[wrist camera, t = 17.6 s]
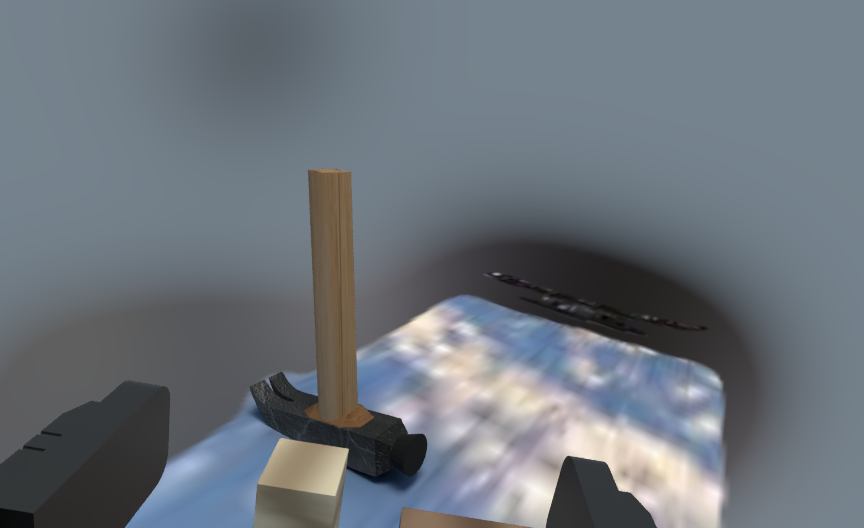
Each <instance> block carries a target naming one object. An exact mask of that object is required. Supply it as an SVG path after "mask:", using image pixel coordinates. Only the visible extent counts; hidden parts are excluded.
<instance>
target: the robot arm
mask: <svg viewBox="0 0 864 528" xmlns="http://www.w3.org/2000/svg"><path fill="white" fill-rule="evenodd" d="M169 410H170V393H169V390H168V388H167V387H164V386H158V385H153V384H146V383H141V382H134V381H125V382H123V383H122V384H121V385H119V386H118V387H117V388H116V389H115V390H114V391H113V392H112V393H110V394H109V395H108V396H107V397H106V398H104V399H103V400H102V401H101V402H94V401H90V402H88V403H86V404H84V405H81V406H79V407H77V408H75V409H72V410H70V411H68V412H66V413H64V414H62V415H61V416H59V417H58V418H57V419H56V420H54V421H53V422H52V423H51V424H50V425H48V426H47V427H46V428H45V429H43V430H42V431H41V434H40V435H36V436H35V437H34V438H32V439H31V440H30V441H29V442H27V443H26V444H25V445H24V447H23V449H22V450H20V449H19V450H18V451H16V452H15V453H14V454H13V455H11V456H10V457H9V458H8V459H6V460H5V461H4V462H3V463H1V464H0V528H125V527H126V525H127V524H128V523H129V521H130V520H131V519H132V517H133V516H134V515H135V513H136V512H137V511H138V509H139V508H140V507H141V506H142V504H143V503H144V502H145V500H146V499H147V498H148V496H149V495H150V494H151V492H152V491H153V490H154V488H155V487H156V486H157V484H158V482H159V481H160V479H161V477H162V474H163V472H164V469H165V466H166V462H167V457H168V441H169V413H170V411H169ZM546 528H657V527H656V525H655V523H654V521H653V518H652V516H651V514H650V513H649V512H648V511H647V510H646V509H645V508H644V507H643V505H642V504H641V503H640V502H639V501H638V500H637V499H636V498H635V497H634V496H633V495H632V494H631V493H628V492H622V491H619V490H618V488H617V486H616V483H615V481H614V479H613V476H612V474H611V471H610V469H609V467H608V465H607V464H606V463H605V462H602V461H596V460H590V459H584V458H578V457H572V456H567V457H566V458H565V460H564V462H563V465H562V468H561V471H560V475H559V479H558V482H557V486H556V489H555V493H554V496H553V500H552V504H551V507H550V511H549V514H548V518H547V523H546Z"/></svg>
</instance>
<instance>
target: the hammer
mask: <svg viewBox="0 0 864 528" xmlns="http://www.w3.org/2000/svg"><path fill="white" fill-rule="evenodd" d="M308 180H309V202H310V225H311V247H312V270H313V292H314V315H315V336H316V359H317V382H318V396H315V395H311V394H307V393H304V392H301V391H299V390H297V389H295V388H294V387H293V386H292V385H291V384H290V383H289V382H288V380H287V379H286V377H285V375H284V374H283V372H280V373H278V374H276V375H274V376H271V377H269V380H270V383H271V386H272V389H273V391H274V392H273V391H272V390H271V388H270V387H269V385H268V384H267V382H266V381H265V380H263V381H261V382H259V383H257V384H254V385H252V386H250V390H251V393H252V396H253V398H254V400H255V402H256V404H257V407H258V409H259V411H260V413H261V414H262V416H263V418H264V419H265V420H266V422H267V423H268V424H269V425H270V426H271V427H272V428H273V429H274V430H276V431H278V432H280V433H281V434H283V435H285V436H287V437H289V438H291V439H293V440H296V441H302V442H308V443H315V444H321V445H328V446H334V447H340V448H347V449H349V452H348V459H347V467H350V468H352V469H355V470H358V471H360V472H363V473H366V474H368V475H371V476H374V477H377V476H378V475H380V474H382V473H385V472H387V471H389V470H391V469H392V468H394V467H396V468H397V469H399V470H400V471H401V472H403V473H404V474H405V475H407V476H408V477H409V476H413V475H414V474H416V473H417V471H418V470H419V469H420V467H421V465H422V464H423V461H424V459H425V455H426V451H427V439H426V437H425V435H424V434H408V432H407V430H406V428H405V426H404V424H403V423H402V420H401V419H400V418H397V417H393V416H389V415H385V414H382V413H378V412H374V411H370V410H367V409H366V408H365V407H364V406H363V405H360V404H358V393H357V359H356V327H355V294H354V292H355V291H354V260H353V259H354V257H353V228H352V227H353V223H352V191H351V172H350V171H341V170H338V169H316V170H308Z"/></svg>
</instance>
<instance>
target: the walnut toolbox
mask: <svg viewBox="0 0 864 528" xmlns="http://www.w3.org/2000/svg"><path fill="white" fill-rule="evenodd" d="M399 528H531V527H524V526H518V525H512V524H506V523H499V522H493V521H487V520H480V519H474V518H468V517H462V516H455V515H449V514H443V513H437V512H430V511H424V510H418V509H411V508H405V507H402V513H401V519H400V525H399Z"/></svg>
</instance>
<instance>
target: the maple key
mask: <svg viewBox="0 0 864 528" xmlns="http://www.w3.org/2000/svg"><path fill="white" fill-rule="evenodd" d="M348 452H349V449H347V448H340V447H334V446H328V445H321V444H315V443H308V442H302V441H296V440H289V439H283V438H280V440H279V442H278V444H277V446H276V448H275V450H274V452H273V454H272V456H271V458H270V460H269V462H268V464H267V466H266V468H265V470H264V472H263V474H262V476H261V478H260V480H259V482H258V484H257V493H256V505H255V517H254V528H338V525H339V518H340V510H341V503H342V496H343V489H344V481H345V474H346V467H347V459H348Z"/></svg>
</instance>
